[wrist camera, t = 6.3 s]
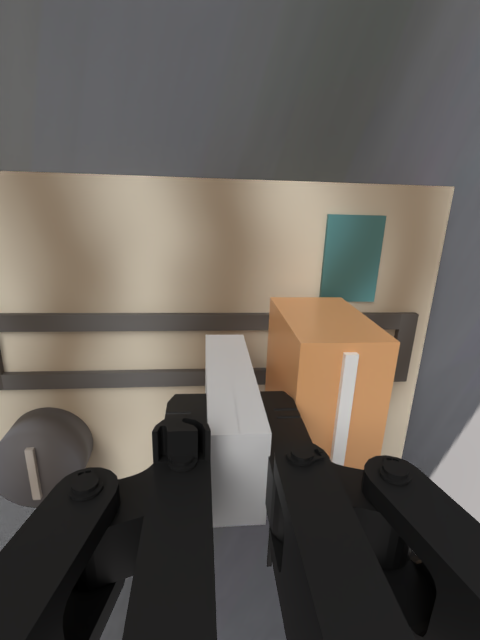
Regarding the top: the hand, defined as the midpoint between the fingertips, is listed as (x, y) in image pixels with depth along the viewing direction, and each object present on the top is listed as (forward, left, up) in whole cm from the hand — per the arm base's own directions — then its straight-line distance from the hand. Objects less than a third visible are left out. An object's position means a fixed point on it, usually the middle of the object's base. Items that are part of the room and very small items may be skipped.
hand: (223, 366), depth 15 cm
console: (-1, 0, -4) cm, 4 cm away
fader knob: (+3, 0, -1) cm, 4 cm away
